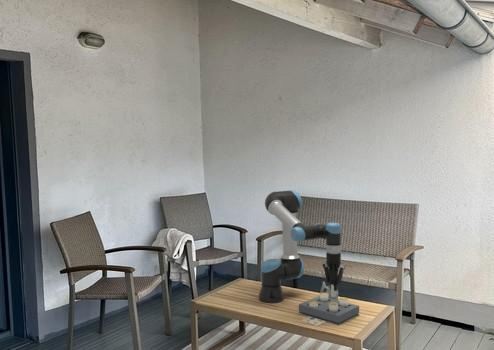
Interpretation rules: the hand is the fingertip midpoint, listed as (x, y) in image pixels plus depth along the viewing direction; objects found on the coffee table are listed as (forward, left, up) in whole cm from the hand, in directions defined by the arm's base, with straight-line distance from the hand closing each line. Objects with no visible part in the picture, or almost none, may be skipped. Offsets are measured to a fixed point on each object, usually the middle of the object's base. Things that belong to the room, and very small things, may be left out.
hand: (333, 296), depth 256 cm
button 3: (0, 0, -9) cm, 9 cm away
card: (-6, -10, -13) cm, 17 cm away
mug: (-17, +20, -13) cm, 29 cm away
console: (-7, +5, -13) cm, 15 cm away
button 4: (0, +10, -9) cm, 14 cm away
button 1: (-13, 0, -12) cm, 18 cm away
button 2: (-13, +10, -9) cm, 19 cm away
